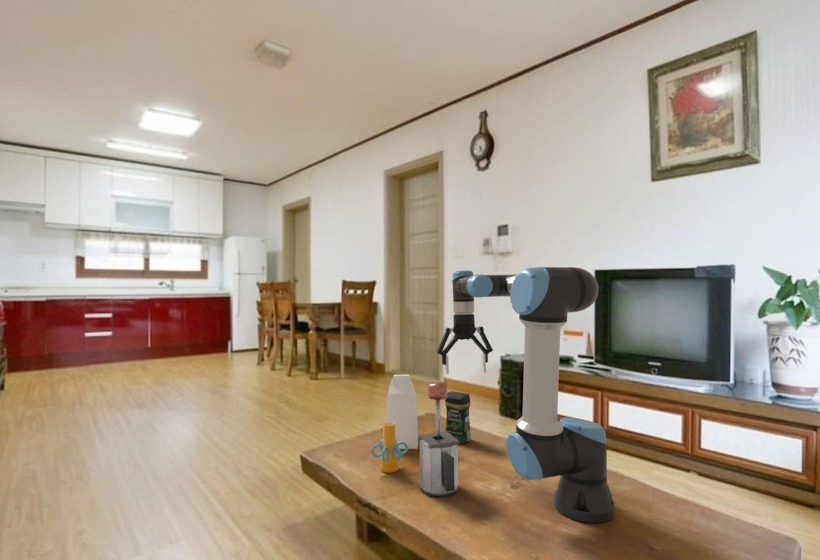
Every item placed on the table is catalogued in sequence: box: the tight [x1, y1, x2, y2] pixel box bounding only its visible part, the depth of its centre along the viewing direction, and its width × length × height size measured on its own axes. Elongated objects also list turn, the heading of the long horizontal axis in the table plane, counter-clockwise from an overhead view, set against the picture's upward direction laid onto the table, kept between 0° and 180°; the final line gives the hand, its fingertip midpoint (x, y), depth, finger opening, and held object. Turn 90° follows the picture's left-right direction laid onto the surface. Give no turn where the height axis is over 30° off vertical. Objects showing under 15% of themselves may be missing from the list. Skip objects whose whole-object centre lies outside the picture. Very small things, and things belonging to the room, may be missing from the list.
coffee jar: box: [444, 390, 472, 445], centre depth 168 cm, size 10×8×19 cm
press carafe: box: [418, 430, 460, 499], centre depth 127 cm, size 14×11×15 cm
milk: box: [385, 374, 419, 450], centre depth 166 cm, size 12×12×26 cm
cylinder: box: [370, 421, 409, 474], centre depth 143 cm, size 12×10×15 cm
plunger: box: [427, 381, 448, 440], centre depth 129 cm, size 6×6×22 cm
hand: (465, 372), depth 155 cm, fingers open, 13 cm apart
